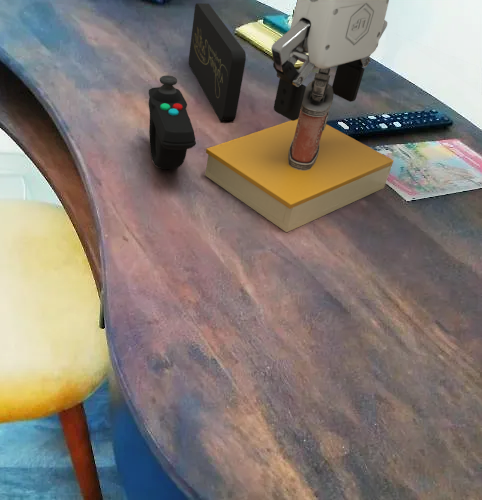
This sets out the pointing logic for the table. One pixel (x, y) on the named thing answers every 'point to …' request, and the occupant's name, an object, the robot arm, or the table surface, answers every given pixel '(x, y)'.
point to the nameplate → (216, 61)
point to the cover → (292, 180)
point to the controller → (169, 125)
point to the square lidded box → (302, 212)
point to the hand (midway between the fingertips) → (314, 105)
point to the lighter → (311, 122)
